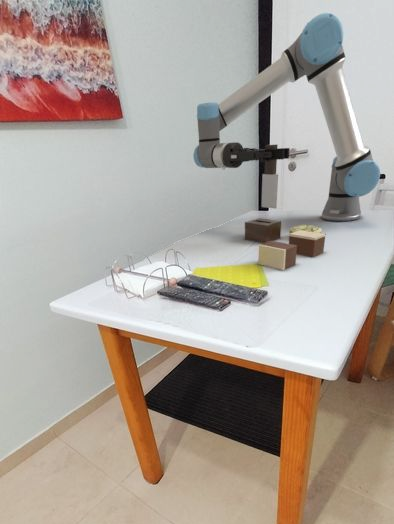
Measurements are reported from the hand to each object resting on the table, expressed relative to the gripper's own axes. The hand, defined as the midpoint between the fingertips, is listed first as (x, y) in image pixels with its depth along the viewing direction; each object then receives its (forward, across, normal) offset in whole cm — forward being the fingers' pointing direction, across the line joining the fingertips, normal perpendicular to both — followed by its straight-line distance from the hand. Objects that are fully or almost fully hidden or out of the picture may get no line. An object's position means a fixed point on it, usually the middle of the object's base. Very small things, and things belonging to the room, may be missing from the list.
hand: (285, 153), depth 100 cm
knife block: (-10, -3, -27) cm, 29 cm away
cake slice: (+11, +14, -24) cm, 30 cm away
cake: (+12, +3, -27) cm, 30 cm away
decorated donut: (+2, -12, -27) cm, 30 cm away
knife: (-6, 0, -16) cm, 16 cm away
